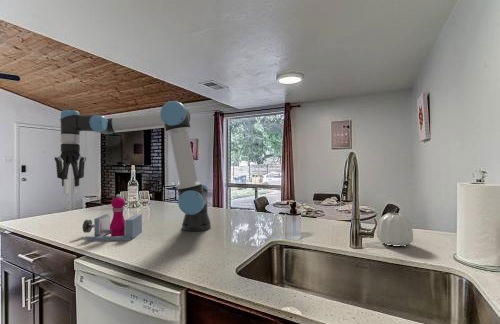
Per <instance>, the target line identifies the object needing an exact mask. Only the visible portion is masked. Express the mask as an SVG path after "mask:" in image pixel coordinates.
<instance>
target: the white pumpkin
mask: <svg viewBox="0 0 500 324" xmlns="http://www.w3.org/2000/svg"><path fill="white" fill-rule="evenodd" d="M376 237H377V238H378V240H379V241H380V242H381V243H382V242H384V243H386V244H391V245H400V246H404V245H408V244H409V245H410V244H411V243H412V242H413V241H414V231H413V227H412V224H411V222H410V220H409V218H407V217H406V216H405V215H403V214H402V213H399V212H398V213H397V212H387V213H386V214H384V215H382V216H381V217H379V219H378V221H377V226H376ZM386 244H385V245H386ZM409 245H408V246H409ZM404 247H405V246H404Z"/></svg>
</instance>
